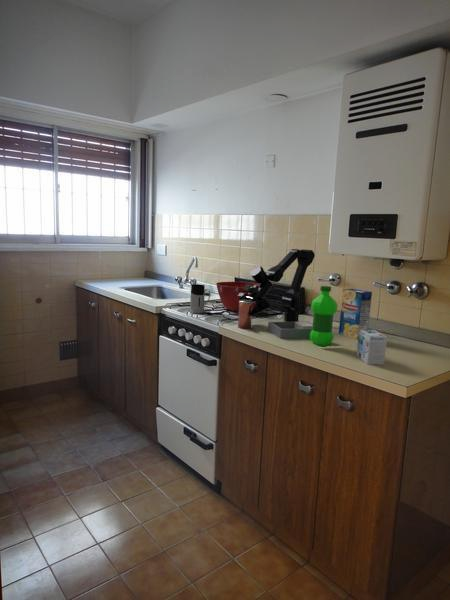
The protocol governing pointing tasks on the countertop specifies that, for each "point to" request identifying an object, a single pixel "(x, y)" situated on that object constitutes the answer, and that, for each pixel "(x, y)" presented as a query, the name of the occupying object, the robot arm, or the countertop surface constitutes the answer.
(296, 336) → the tote
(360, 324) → the blue food box
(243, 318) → the tin can
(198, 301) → the grey handled cylinder
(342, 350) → the countertop surface
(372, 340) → the light bulb box
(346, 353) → the countertop surface
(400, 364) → the countertop surface
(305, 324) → the egg carton
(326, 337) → the plastic bottle
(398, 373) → the countertop surface
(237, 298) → the mixing bowl
